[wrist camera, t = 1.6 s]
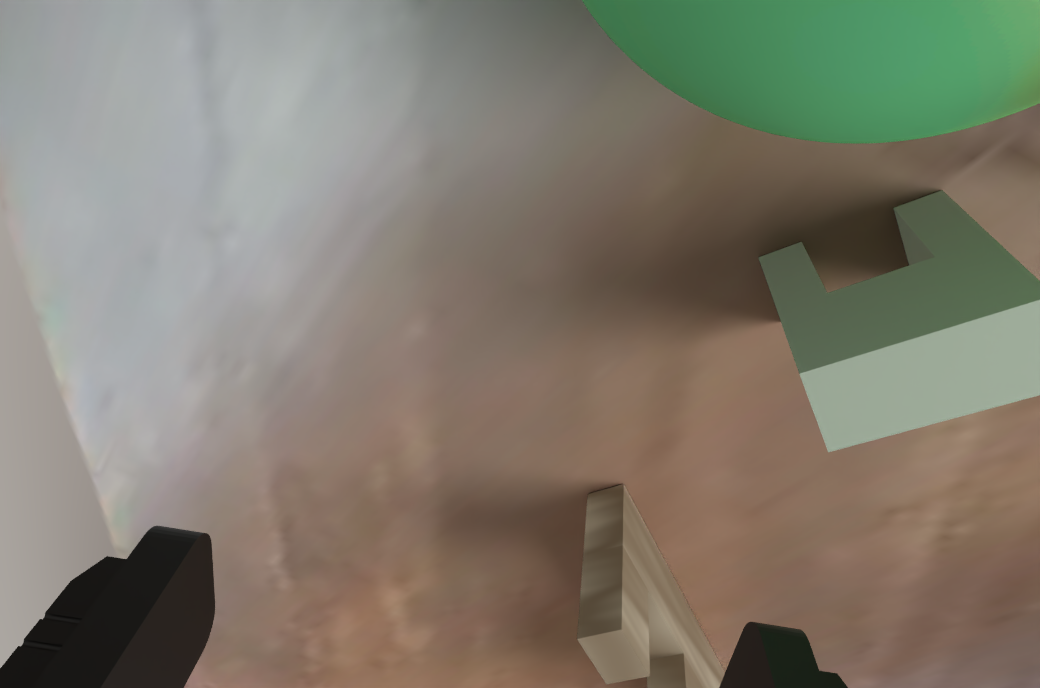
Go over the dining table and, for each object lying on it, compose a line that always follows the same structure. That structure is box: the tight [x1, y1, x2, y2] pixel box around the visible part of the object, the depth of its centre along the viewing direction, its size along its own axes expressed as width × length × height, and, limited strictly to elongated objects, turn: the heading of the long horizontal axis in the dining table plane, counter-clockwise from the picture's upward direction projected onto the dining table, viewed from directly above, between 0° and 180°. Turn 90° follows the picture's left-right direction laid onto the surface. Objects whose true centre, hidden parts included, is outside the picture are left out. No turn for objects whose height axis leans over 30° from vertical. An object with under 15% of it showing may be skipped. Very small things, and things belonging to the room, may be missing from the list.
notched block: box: [758, 190, 1040, 452], centre depth 24 cm, size 6×3×8 cm, turn 116°
